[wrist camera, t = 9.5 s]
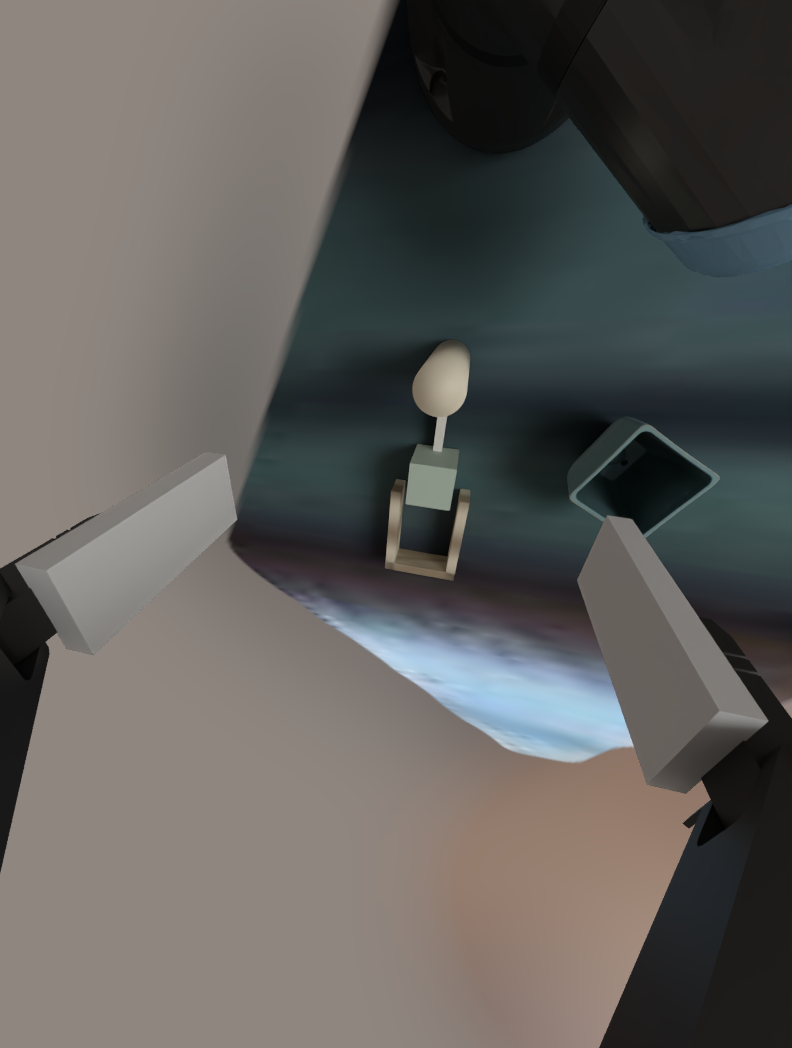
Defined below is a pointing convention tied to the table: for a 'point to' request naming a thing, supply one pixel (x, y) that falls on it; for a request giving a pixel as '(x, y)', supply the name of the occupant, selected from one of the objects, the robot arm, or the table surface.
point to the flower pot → (636, 476)
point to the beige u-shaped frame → (420, 560)
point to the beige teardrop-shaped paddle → (438, 424)
